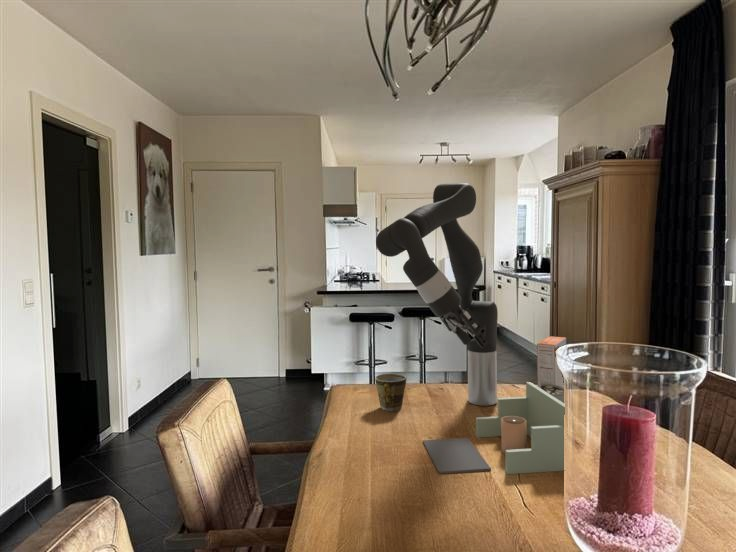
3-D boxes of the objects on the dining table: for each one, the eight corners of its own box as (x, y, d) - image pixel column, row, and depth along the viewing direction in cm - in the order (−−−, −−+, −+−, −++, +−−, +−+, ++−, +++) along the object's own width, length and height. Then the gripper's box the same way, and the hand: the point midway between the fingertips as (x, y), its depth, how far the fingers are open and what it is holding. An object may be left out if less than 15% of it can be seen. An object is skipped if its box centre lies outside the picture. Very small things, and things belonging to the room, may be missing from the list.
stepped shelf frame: (476, 435, 129) (475, 384, 128) (530, 432, 130) (530, 381, 129) (507, 474, 107) (507, 412, 106) (572, 469, 108) (572, 408, 107)
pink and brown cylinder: (497, 447, 121) (497, 416, 121) (520, 446, 121) (520, 415, 121) (506, 457, 115) (506, 424, 115) (530, 456, 115) (530, 423, 115)
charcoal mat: (422, 442, 125) (422, 440, 125) (467, 439, 126) (467, 437, 126) (439, 473, 107) (439, 471, 107) (491, 470, 108) (491, 468, 108)
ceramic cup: (380, 402, 159) (379, 372, 159) (409, 404, 157) (409, 374, 156) (369, 415, 147) (369, 383, 146) (401, 417, 144) (401, 385, 144)
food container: (571, 431, 130) (571, 395, 130) (547, 430, 131) (547, 394, 131) (562, 416, 142) (562, 383, 142) (540, 415, 143) (540, 382, 143)
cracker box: (548, 397, 161) (548, 335, 160) (567, 400, 157) (567, 337, 156) (536, 408, 149) (535, 342, 148) (556, 412, 146) (556, 344, 145)
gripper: (462, 281, 109) (502, 336, 111) (436, 283, 123) (473, 332, 125) (439, 302, 107) (480, 357, 109) (415, 302, 121) (452, 351, 123)
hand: (476, 344), depth 117 cm, fingers open, 8 cm apart
